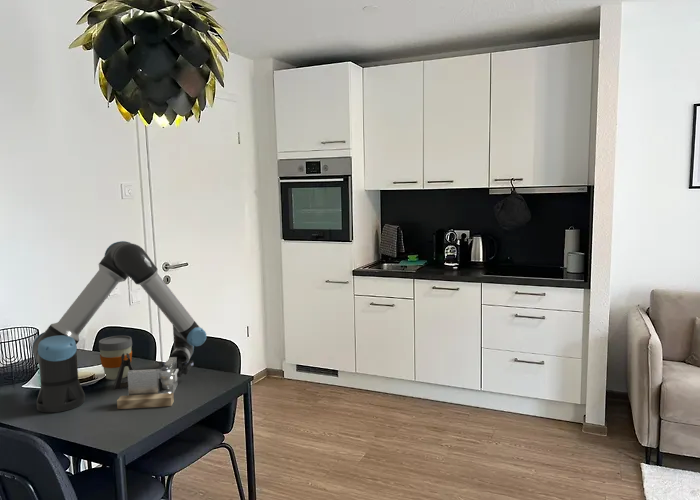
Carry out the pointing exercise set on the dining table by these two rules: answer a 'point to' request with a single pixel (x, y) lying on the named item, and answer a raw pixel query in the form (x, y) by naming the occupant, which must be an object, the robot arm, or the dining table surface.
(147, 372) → the fixed steel leaf
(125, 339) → the reusable coffee cup
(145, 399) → the oak sill
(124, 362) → the dark forked stand
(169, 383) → the loose hinge leaf
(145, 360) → the dining table surface
